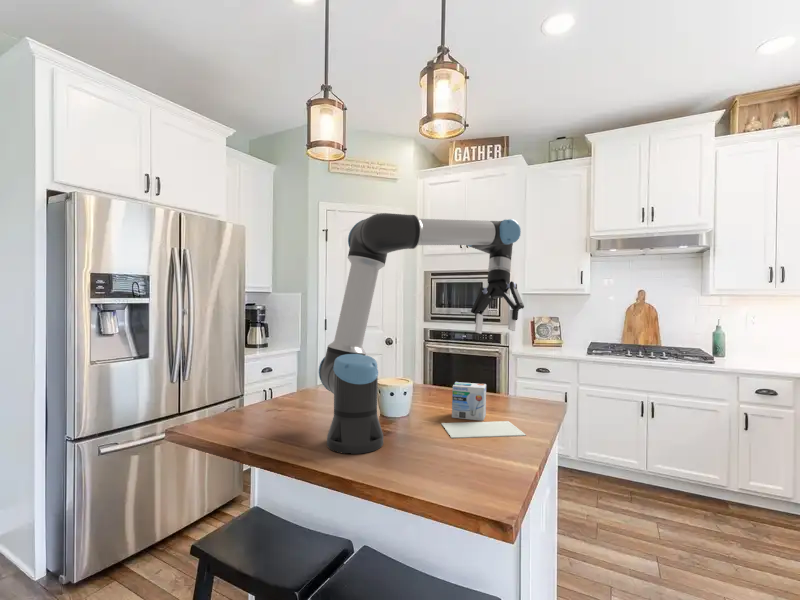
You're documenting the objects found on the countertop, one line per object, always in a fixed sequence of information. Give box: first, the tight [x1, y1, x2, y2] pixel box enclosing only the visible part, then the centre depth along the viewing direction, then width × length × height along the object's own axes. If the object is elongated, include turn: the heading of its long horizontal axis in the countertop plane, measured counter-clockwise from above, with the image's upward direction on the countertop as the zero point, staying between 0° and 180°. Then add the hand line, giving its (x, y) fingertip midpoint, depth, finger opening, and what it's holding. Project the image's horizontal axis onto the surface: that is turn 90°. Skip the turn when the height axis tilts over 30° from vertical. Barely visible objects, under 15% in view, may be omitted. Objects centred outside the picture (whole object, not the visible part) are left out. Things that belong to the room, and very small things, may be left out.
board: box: [441, 420, 527, 439], centre depth 125 cm, size 22×13×1 cm, turn 97°
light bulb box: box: [451, 381, 487, 422], centre depth 138 cm, size 11×7×11 cm, turn 73°
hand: (494, 331), depth 139 cm, fingers open, 13 cm apart
